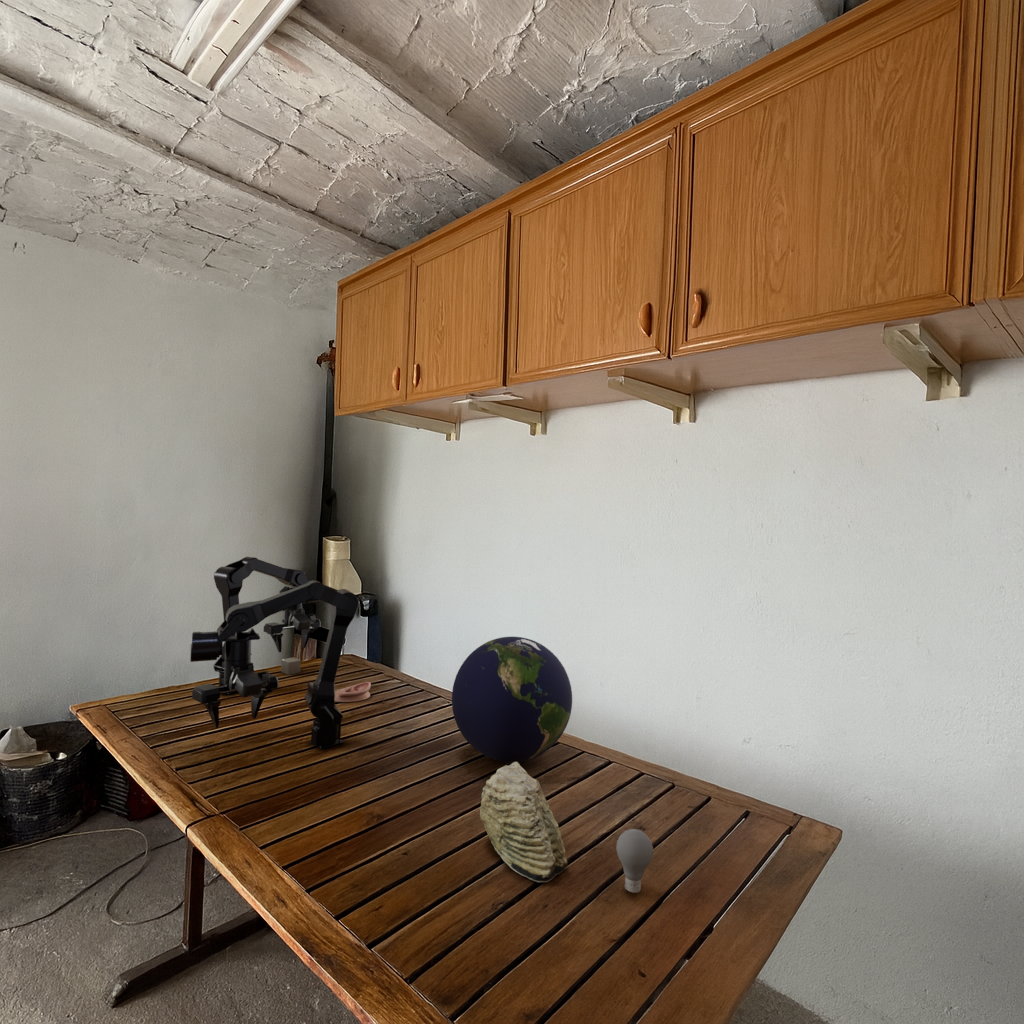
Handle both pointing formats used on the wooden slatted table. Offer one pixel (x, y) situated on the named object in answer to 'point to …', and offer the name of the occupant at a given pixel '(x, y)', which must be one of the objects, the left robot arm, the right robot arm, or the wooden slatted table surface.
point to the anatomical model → (353, 693)
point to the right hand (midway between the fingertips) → (235, 722)
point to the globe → (512, 699)
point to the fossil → (522, 824)
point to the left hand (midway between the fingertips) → (292, 650)
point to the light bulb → (634, 857)
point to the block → (290, 665)
